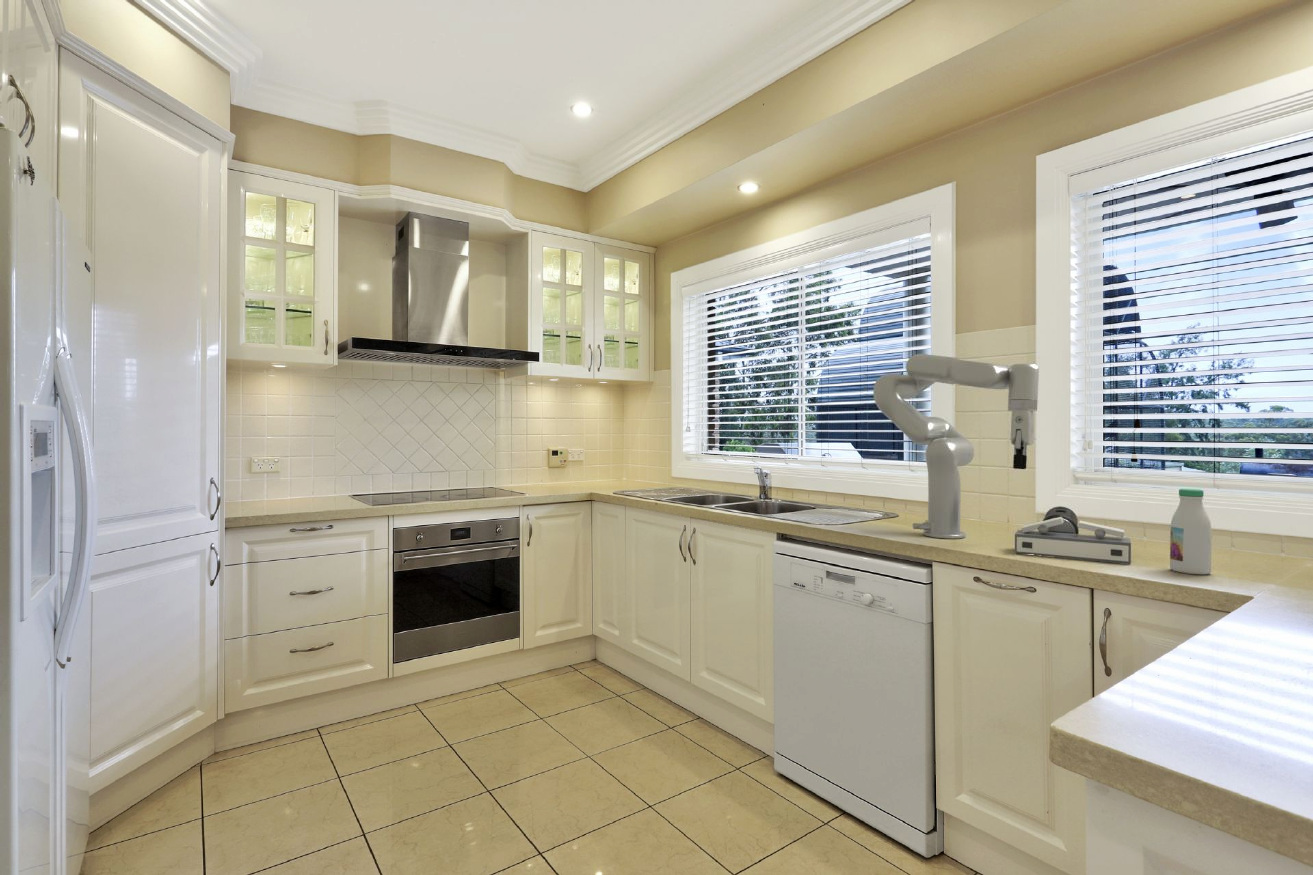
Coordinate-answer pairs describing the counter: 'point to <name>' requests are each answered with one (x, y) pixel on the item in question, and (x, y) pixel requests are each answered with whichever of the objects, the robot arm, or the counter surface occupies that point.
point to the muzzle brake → (1068, 517)
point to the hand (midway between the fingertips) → (1019, 468)
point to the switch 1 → (1042, 525)
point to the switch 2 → (1101, 529)
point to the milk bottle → (1190, 535)
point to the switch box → (1074, 546)
